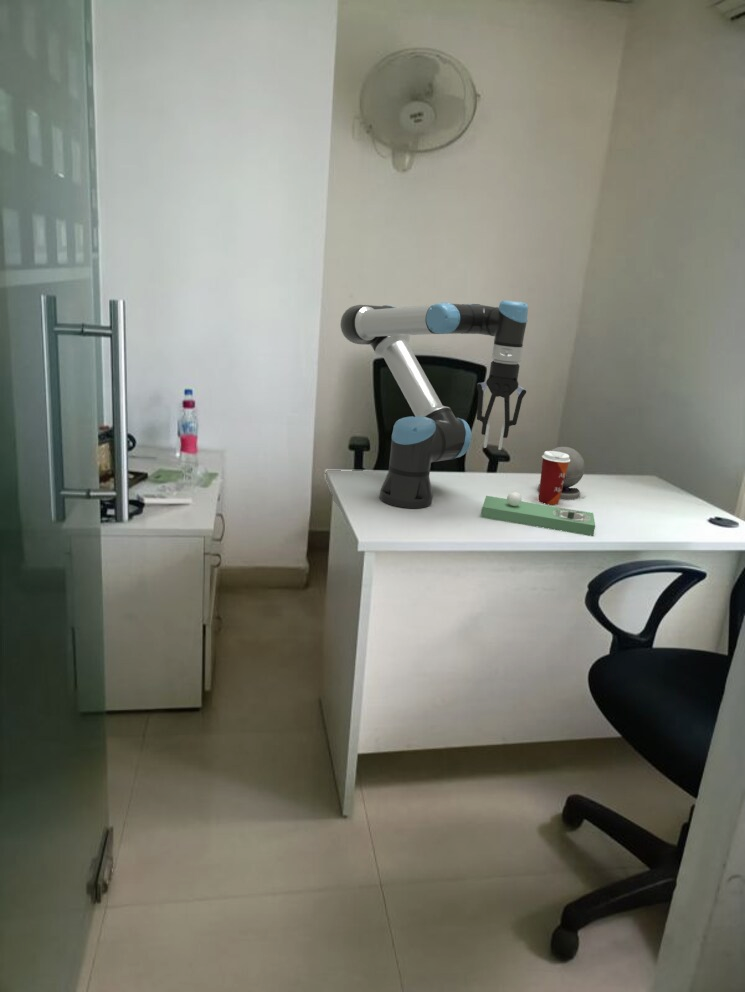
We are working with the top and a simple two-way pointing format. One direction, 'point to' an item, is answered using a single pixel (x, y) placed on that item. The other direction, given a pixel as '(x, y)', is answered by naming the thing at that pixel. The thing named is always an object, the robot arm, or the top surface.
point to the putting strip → (539, 515)
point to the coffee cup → (552, 476)
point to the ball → (514, 499)
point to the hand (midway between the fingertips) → (492, 447)
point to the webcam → (571, 473)
